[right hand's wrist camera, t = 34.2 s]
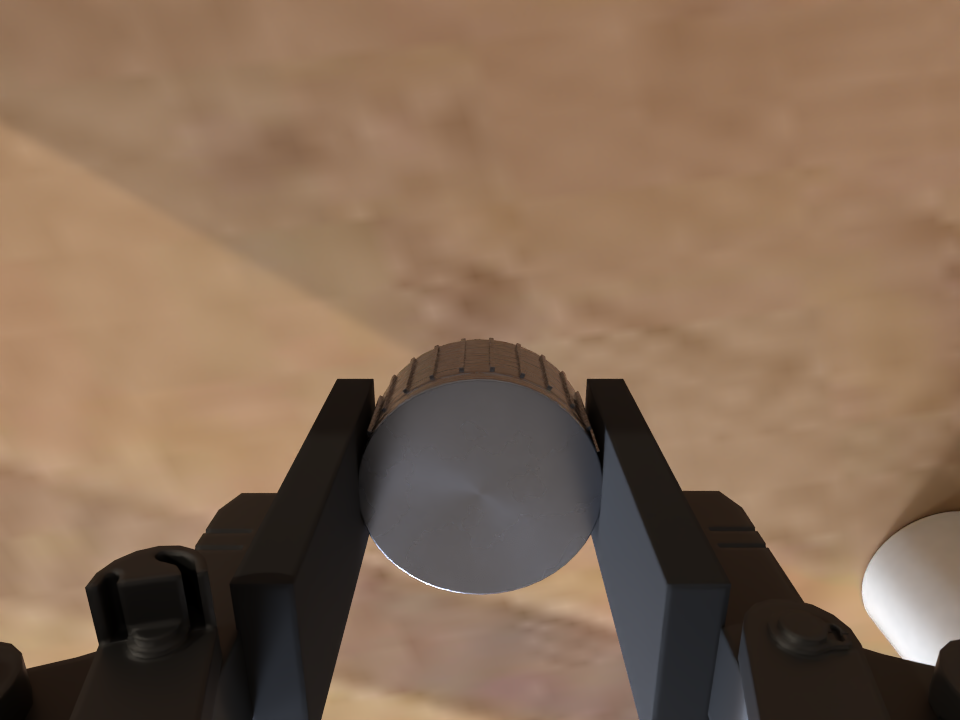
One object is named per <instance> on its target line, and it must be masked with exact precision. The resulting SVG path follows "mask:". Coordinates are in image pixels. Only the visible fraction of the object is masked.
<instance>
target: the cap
mask: <svg viewBox="0 0 960 720" xmlns="http://www.w3.org/2000/svg"><path fill="white" fill-rule="evenodd" d="M366 434H367V435H368V438H367V441H366V444H365V447H364V449H363V452H362V455H361V459H360V463H359V466H358V485H359V499H360V512H361V516H362V519H363V522H364V524H365V526H366V528H367V530H368V532H369V534H370V536H371V538H372V539H373V541H374V542H375V544H376V545H377V546H378V548H379V549H380V550H381V551H382V552H383V553H384V555H385V556H386V557H387V558H388V559H389V560H390V561H392V562H393V563H394V564H395V565H396V566H397V567H399V568H400V569H401V570H403V571H404V572H406V573H407V574H409V575H410V576H412V577H414V578H416V579H418V580H420V581H422V582H424V583H426V584H429V585H431V586H434V587H437V588H440V589H444V590H448V591H452V592H458V593H465V594H496V593H503V592H508V591H513V590H517V589H520V588H523V587H527V586H529V585H532V584H534V583H536V582H539V581H541V580H543V579H544V578H546V577H548V576H550V575H552V574H553V573H555V572H556V571H557V570H559V569H560V568H562V567H563V566H564V565H566V564H567V563H568V562H569V561H570V560H571V559H572V558H573V557H574V556H575V555H576V554H577V553H578V552H579V550H580V549H581V548H582V547H583V545H584V544H585V543H586V541H587V539H588V538H589V536H590V535H591V533H592V531H593V529H594V527H595V524H596V522H597V520H598V517H599V514H600V507H601V493H602V478H603V472H602V467H601V462H600V459H599V456H598V455H599V453H600V451H599V448H598V445H597V442H596V439H595V436H594V433H593V430H592V428H591V425H590V422H589V419H588V416H587V414H586V411H585V408H584V405H583V402H582V399H581V396H580V394H579V392H578V391H577V392H575V390H574V389H573V387H572V386H571V384H570V383H569V382H568V380H567V378H566V375H565V373H564V372H563V371H562V372H560V371H559V370H558V369H557V368H556V367H554V366H553V365H552V364H551V363H549V362H548V361H547V360H546V359H545V356H543V355H541V356H539V355H537V354H536V353H534V352H532V351H530V350H527V349H525V348H523V347H521V344H518V343H517V344H516V345H514V344H511V343H507V342H501V341H495V340H494V339H493V338H489V340H481V339H477V340H476V339H475V340H466V339H461V341H459V342H454V343H450V344H446V345H443V346H440V347H439V345H437V346H435V347H434V349H433V350H431V351H429V352H427V353H425V354H423V355H421V356H420V357H418V358H417V359H415V358H412V359H411V362H410V363H409V364H408V365H407V366H406V367H405V368H404V369H403V370H402V371H401V372H400V373H399V374H398V375H397V376H396V375H393V377H392V379H391V382H390V385H389V387H388V388H387V390H386V391H385V393H384V395H383V397H382V396H379V398H378V401H377V404H376V407H375V410H374V412H373V415H372V418H371V421H370V424H369V427H368V429H367V432H366Z"/></svg>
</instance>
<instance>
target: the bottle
mask: <svg viewBox="0 0 960 720" xmlns="http://www.w3.org/2000/svg"><path fill="white" fill-rule="evenodd" d="M862 597H863V603H864V606H865V609H866V611H867V613H868V615H869V616H870V618H871V619H872V621H873V622H874V623H875V625H876V626H877V627H878V628H879V630H880V631H881V632H882V634H883V635H884V636H885V637H886V639H887V640H888V641H889V643H890V644H891V645H892V646H893V648H894V649H895V650H896V652H897V653H898V654H899V655H900V657H901V658H902V659H906V660H910V661H914V662H919V663H923V664H928V665H932V666H935V665H936V662H937V658H938V655H939V652H940V650H941V649H942V648H943V647H944V646H945V645H946V644H947V643H948V642H949V641H953V640H958V639H960V511H951V512H943V513H939V514H934V515H931V516H928V517H925V518H922V519H919V520H917V521H915V522H913V523H911V524H909V525H907V526H905V527H904V528H902V529H901V530H899V531H898V532H896V533H895V534H894V535H892V536H891V537H890V538H889V539H888V540H887V541H886V542H884V544H883V545H882V546H881V547H880V548H879V549H878V550H877V552H876V553H875V554H874V556H873V557H872V559H871V561H870V563H869V564H868V566H867V569H866V571H865V574H864V578H863V583H862Z"/></svg>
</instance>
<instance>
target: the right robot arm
mask: <svg viewBox="0 0 960 720" xmlns="http://www.w3.org/2000/svg"><path fill="white" fill-rule="evenodd" d="M374 410H375V396H374V379H337V381H336V382H335V384H334V386H333V388H332V390H331V392H330V394H329V396H328V398H327V400H326V401H325V403H324V405H323V407H322V409H321V411H320V413H319V415H318V417H317V418H316V420H315V422H314V424H313V426H312V428H311V430H310V432H309V434H308V436H307V437H306V439H305V441H304V443H303V445H302V447H301V449H300V451H299V453H298V455H297V456H296V458H295V460H294V462H293V464H292V466H291V468H290V470H289V472H288V474H287V475H286V477H285V479H284V481H283V483H282V485H281V487H280V489H279V491H278V492H277V493H241V494H240V495H239V496H237V497H236V498H235V499H233V500H232V501H230V502H229V503H228V504H226V505H225V506H224V507H222V508H221V509H219V510H218V512H217V513H216V515H215V516H214V518H213V520H212V521H211V523H210V524H209V526H208V527H207V529H206V533H203V535H202V536H201V538H200V540H199V541H198V543H197V544H196V546H195V550H194V549H191V548H187V547H183V546H157V547H152V548H148V549H144V550H139V551H135V552H133V553H131V554H129V555H126V556H124V557H122V558H119V559H117V560H115V561H113V562H112V563H110V564H109V565H107V566H106V567H105V568H103V569H102V570H100V571H99V572H97V573H96V574H95V576H94V577H93V578H92V580H91V581H90V582H89V583H88V585H87V586H86V587H85V589H86V593H87V598H88V602H89V606H90V610H91V614H92V618H93V622H94V626H95V630H96V634H97V639H98V643H99V647H98V649H97V651H96V652H93V653H90V654H86V655H83V656H80V657H76V658H72V659H67V660H63V661H59V662H54V663H50V664H46V665H41V666H37V667H33V668H28V669H26V666H25V663H24V660H23V656H22V653H21V652H20V651H19V650H18V649H17V648H15V647H14V646H13V645H12V644H10V643H4V642H0V720H321V718H322V714H323V710H324V706H325V703H326V699H327V695H328V691H329V687H330V683H331V679H332V676H333V672H334V668H335V664H336V660H337V656H338V653H339V649H340V645H341V641H342V637H343V633H344V629H345V626H346V622H347V618H348V614H349V610H350V606H351V602H352V599H353V595H354V591H355V587H356V583H357V579H358V576H359V572H360V568H361V564H362V560H363V556H364V552H365V549H366V545H367V541H368V537H369V532H368V530H367V528H366V526H365V524H364V522H363V519H362V516H361V512H360V499H359V485H358V466H359V463H360V459H361V455H362V452H363V449H364V447H365V444H366V441H367V438H368V435H367V434H366V432H367V429H368V427H369V424H370V421H371V418H372V415H373V412H374ZM585 411H586V414H587V416H588V419H589V422H590V425H591V428H592V430H593V433H594V436H595V439H596V442H597V445H598V448H599V451H600V453H599V455H598V456H599V459H600V462H601V467H602V472H603V478H602V493H601V507H600V514H599V517H598V520H597V522H596V524H595V527H594V529H593V531H592V533H591V535H592V539H593V543H594V547H595V551H596V555H597V558H598V562H599V566H600V570H601V574H602V578H603V581H604V585H605V589H606V593H607V597H608V601H609V605H610V608H611V612H612V616H613V620H614V624H615V628H616V632H617V635H618V639H619V643H620V647H621V651H622V655H623V658H624V662H625V666H626V670H627V674H628V678H629V682H630V685H631V689H632V693H633V697H634V701H635V705H636V708H637V712H638V716H639V720H960V639H958V640H953V641H949V642H948V643H947V644H946V645H945V646H944V647H943V648H942V649H941V650H940V652H939V655H938V658H937V662H936V665H935V666H932V665H928V664H923V663H919V662H914V661H910V660H906V659H901V658H897V657H892V656H888V655H884V654H880V653H877V652H874V651H870V650H867V649H864V648H862V645H861V643H860V642H859V640H858V639H857V637H856V636H855V634H854V633H853V632H852V630H851V629H850V628H849V627H848V626H847V625H845V624H844V623H843V622H842V621H840V620H839V619H838V618H837V617H835V616H834V615H833V614H830V613H828V612H826V611H824V610H822V609H820V608H818V607H816V606H814V605H812V604H808V603H804V602H803V600H802V598H801V597H800V595H799V594H798V592H797V591H796V589H795V588H794V586H793V585H792V583H791V582H790V580H789V579H788V577H787V576H786V574H785V573H784V571H783V569H782V568H781V566H780V565H779V563H778V562H777V560H776V559H775V557H774V556H773V554H772V553H771V551H770V550H769V548H766V543H765V542H764V540H763V539H762V537H761V536H760V534H759V533H758V531H755V527H754V525H753V524H752V522H751V521H750V519H749V518H748V516H747V514H746V513H745V511H744V510H743V508H742V507H740V506H739V505H738V504H736V503H735V502H733V501H732V500H731V499H729V498H728V497H726V496H725V495H724V494H722V493H721V492H720V491H682V490H681V488H680V486H679V484H678V482H677V480H676V478H675V476H674V474H673V473H672V471H671V469H670V467H669V465H668V463H667V461H666V459H665V457H664V456H663V454H662V452H661V450H660V448H659V446H658V444H657V442H656V440H655V438H654V437H653V435H652V433H651V431H650V429H649V427H648V425H647V423H646V421H645V419H644V418H643V416H642V414H641V412H640V410H639V408H638V406H637V404H636V402H635V400H634V399H633V397H632V395H631V393H630V391H629V389H628V387H627V385H626V383H625V382H624V380H623V379H587V387H586V404H585Z"/></svg>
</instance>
